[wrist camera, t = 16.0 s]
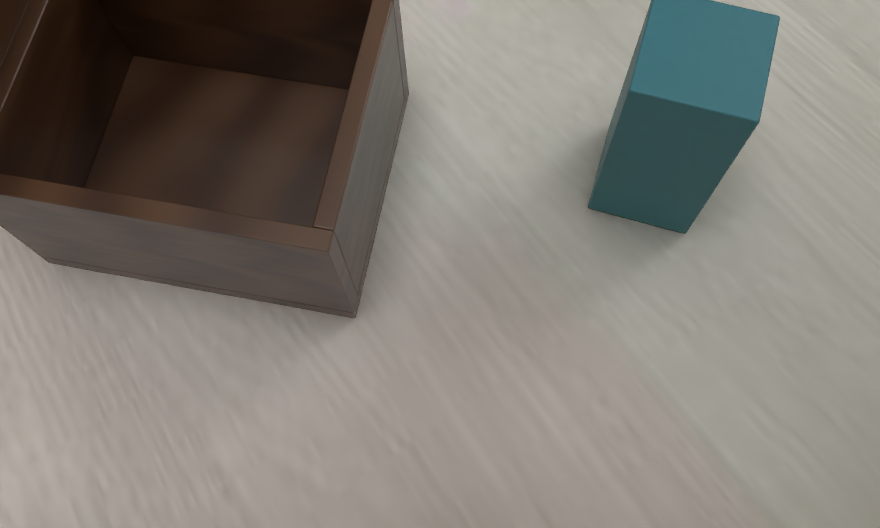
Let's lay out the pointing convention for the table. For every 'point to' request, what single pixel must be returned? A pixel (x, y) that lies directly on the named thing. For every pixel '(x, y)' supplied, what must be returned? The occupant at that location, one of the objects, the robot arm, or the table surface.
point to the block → (684, 110)
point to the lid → (9, 22)
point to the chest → (205, 141)
